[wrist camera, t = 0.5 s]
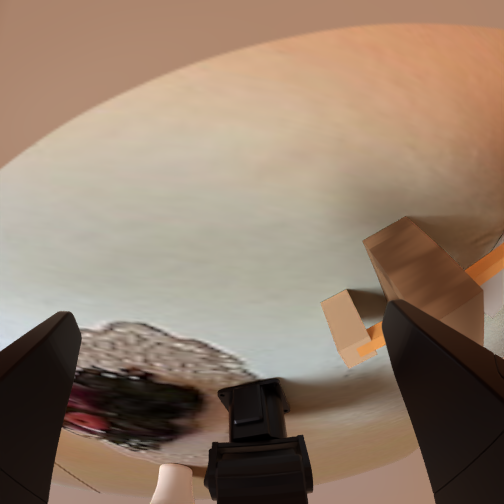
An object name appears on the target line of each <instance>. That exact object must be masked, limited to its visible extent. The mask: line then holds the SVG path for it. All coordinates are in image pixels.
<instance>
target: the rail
mask: <svg viewBox="0 0 504 504" xmlns="http://www.w3.org/2000/svg"><path fill="white" fill-rule="evenodd" d="M502 269H504V243H502V244H501V245H500V246H498V247H497V248H496V249H494V250H493V251H491V252H490V253H489V254H487V255H486V256H485V257H483V258H482V259H480V260H479V261H478V262H476V263H475V264H473V265H472V266H470V267H469V268H467V269H466V270H465V272H466V273H467V274H468V275H469V276H470V277H471V278H472V279H473V280H474V281H475V282H476V283H477V284H478V285H479V286H481V285H482V284H483V283H485V282H486V281H488V280H489V279H490V278H492V277H493V276H494V275H496V274H497V273H498V272H500V271H501V270H502ZM321 306H322V308H323V311H324V314H325V317H326V319H327V322H328V325H329V328H330V331H331V333H332V336H333V339H334V342H335V345H336V347H337V350H338V353H339V354H340V356H341V357H342V359H343V360H344V362H345V364H346V365H347V367H348V368H351V367H353V366H355V365H357V364H359V363H361V362H363V361H365V360H367V359H369V358H371V357H373V356H375V355H377V352H376V349H378V348H380V347H382V346H384V345H386V343H385V339H384V336H383V332H382V321H381V322H379V323H377V324H376V325H374V326H372V327H370V328H368V329H366V328H365V326H364V324H363V322H362V320H361V318H360V316H359V314H358V312H357V310H356V308H355V306H354V304H353V302H352V300H351V298H350V296H349V294H348V292H347V290H344V291H342V292H340V293H338V294H336V295H334V296H333V297H331V298H329V299H327V300H325V301H323V302H321Z"/></svg>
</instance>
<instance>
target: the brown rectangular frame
mask: <svg viewBox="0 0 504 504" xmlns="http://www.w3.org/2000/svg"><path fill="white" fill-rule="evenodd" d="M363 243H364V245H365V248H366V250H367V252H368V255H369V257H370V260H371V262H372V264H373V267H374V269H375V272H376V274H377V277H378V279H379V282H380V284H381V287H382V289H383V292H384V295H385V297H386V300H387V302H389V301H390V300H396V299H403V300H405V301H407V302H408V303H410V304H412V305H414V306H415V307H417V308H419V309H420V310H422V311H424V312H426V313H427V314H429V315H431V316H433V317H434V318H436V319H438V320H439V321H441V322H443V323H444V324H446V325H448V326H450V327H451V328H453V329H455V330H456V331H458V332H460V333H461V334H463V335H465V336H466V337H468V338H470V339H471V340H473V341H475V342H476V343H478V344H480V345H481V346H483V344H484V290H483V289H482V288H481V287H480V286H479V285H478V284H477V283H476V282H475V281H474V280H473V279H472V278H471V277H470V276H469V275H468V274H467V273H466V272H465V271H464V270H463V269H462V268H461V267H460V266H459V265H458V264H457V263H456V262H455V261H454V260H453V259H452V258H451V257H450V256H449V255H448V254H447V253H446V252H445V251H444V250H443V249H442V248H441V247H440V246H439V245H438V244H436V243H435V242H434V241H433V240H432V239H431V238H430V237H429V236H428V235H427V234H426V233H424V232H423V231H422V230H421V229H420V228H419V227H418V226H417V225H415V224H414V223H413V222H412V221H411V220H410V219H409V218H407V217H406V216H405V217H403V218H401V219H400V220H398V221H396V222H394V223H393V224H391V225H389V226H387V227H386V228H384V229H382V230H380V231H379V232H377V233H375V234H373V235H372V236H370V237H368V238H366V239H365V240H363Z"/></svg>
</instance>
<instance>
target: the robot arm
mask: <svg viewBox="0 0 504 504" xmlns="http://www.w3.org/2000/svg"><path fill="white" fill-rule="evenodd" d="M382 332H383V336H384V339H385V343H386V346H387V350H388V353H389V357H390V361H391V365H392V368H393V372H394V375H395V378H396V381H397V383H398V386H399V389H400V391H401V394H402V397H403V400H404V402H405V405H406V408H407V411H408V414H409V416H410V419H411V422H412V425H413V428H414V431H415V434H416V437H417V440H418V443H419V446H420V449H421V453H422V456H423V459H424V462H425V466H426V469H427V473H428V476H429V480H430V483H431V487H432V491H433V493H434V499H435V503H436V504H504V359H502V358H501V357H499V356H498V355H496V354H495V355H494V353H493V352H491V351H489V350H488V349H486V348H485V347H483V346H481V345H480V344H478V343H476V342H475V341H473V340H471V339H470V338H468V337H466V336H465V335H463V334H461V333H460V332H458V331H456V330H455V329H453V328H451V327H450V326H448V325H446V324H444V323H443V322H441V321H439V320H438V319H436V318H434V317H433V316H431V315H429V314H427V313H426V312H424V311H422V310H420V309H419V308H417V307H415V306H414V305H412V304H410V303H408V302H407V301H405V300H403V299H396V300H390V301H389V302H388V303H387V306H386V310H385V314H384V317H383V321H382ZM81 340H82V337H81V332H80V330H79V327H78V325H77V322H76V320H75V318H74V315H73V314H72V313H71V312H69V311H59V312H57V313H56V314H54V315H53V316H51V317H50V318H48V319H47V320H45V321H44V322H42V323H41V324H39V325H38V326H36V327H35V328H33V329H32V330H30V331H29V332H27V333H26V334H24V335H23V336H22V337H20V338H19V339H17V340H16V341H14V342H13V343H12V344H10V345H9V346H7V347H6V348H4V349H3V350H2V351H0V504H48V499H49V491H50V485H51V479H52V473H53V467H54V462H55V456H56V451H57V446H58V442H59V437H60V433H61V428H62V424H63V420H64V416H65V412H66V408H67V404H68V400H69V397H70V393H71V389H72V385H73V381H74V376H75V370H76V365H77V360H78V355H79V350H80V345H81ZM218 397H219V399H220V400H221V402H222V403H223V405H224V406H225V407H226V409H227V410H228V412H229V442H226V443H218V442H212V449H210V450H209V462H208V468H207V471H206V475H205V479H204V486H205V487H207V488H208V489H209V492H210V494H211V498H212V500H214V501H217V504H308V498H307V494H308V493H312V492H313V477H312V470H311V465H310V460H309V456H308V452H307V448H306V445H305V441H304V437H303V435H297V436H296V437H288V438H287V432H286V425H285V418H284V413H288V412H289V411H290V407H289V404H288V402H287V399H286V397H285V394H284V392H283V389H282V387H281V384H280V382H279V380H278V379H272V380H267V381H263V382H258V383H253V384H249V385H244V386H239V387H233V388H228V389H223V390H219V391H218Z"/></svg>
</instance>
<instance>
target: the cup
mask: <svg viewBox="0 0 504 504" xmlns="http://www.w3.org/2000/svg"><path fill="white" fill-rule="evenodd" d="M192 474H193V472H192V470H191V469H190V468H189V467H187V466H184V465H181V464H174V463H166V464H162V465H161V466H160V470H159V478H158V483H157V487H156V490H155V493H154V494H153V498H152V500H151V502H150V503H149V504H195V502H194V498H193V492H192Z"/></svg>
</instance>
